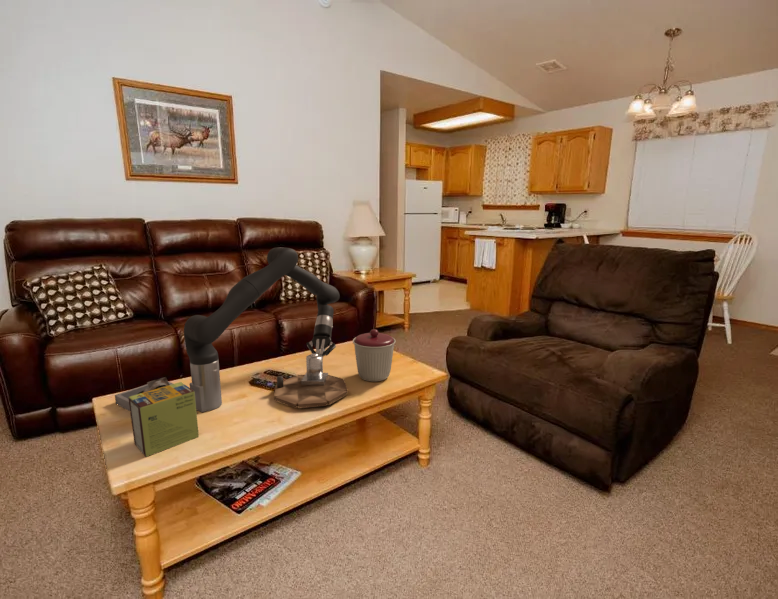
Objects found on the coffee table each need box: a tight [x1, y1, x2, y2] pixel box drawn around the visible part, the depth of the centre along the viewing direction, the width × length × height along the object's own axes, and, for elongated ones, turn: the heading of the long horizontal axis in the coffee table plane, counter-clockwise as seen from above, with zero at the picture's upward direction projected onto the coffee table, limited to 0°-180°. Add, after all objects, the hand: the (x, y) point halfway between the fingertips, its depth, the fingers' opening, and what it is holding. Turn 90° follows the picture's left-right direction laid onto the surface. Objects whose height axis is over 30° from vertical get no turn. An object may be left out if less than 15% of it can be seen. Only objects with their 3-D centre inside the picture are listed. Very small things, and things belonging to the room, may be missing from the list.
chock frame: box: [114, 381, 174, 412], centre depth 153 cm, size 17×15×4 cm
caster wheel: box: [138, 376, 169, 394], centre depth 152 cm, size 7×11×10 cm
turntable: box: [273, 374, 349, 409], centre depth 160 cm, size 27×27×5 cm
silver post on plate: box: [301, 353, 329, 385], centre depth 166 cm, size 9×9×11 cm
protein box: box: [128, 381, 200, 458], centre depth 126 cm, size 10×15×16 cm
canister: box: [352, 328, 397, 382], centre depth 175 cm, size 18×18×21 cm
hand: (318, 363), depth 173 cm, fingers closed
